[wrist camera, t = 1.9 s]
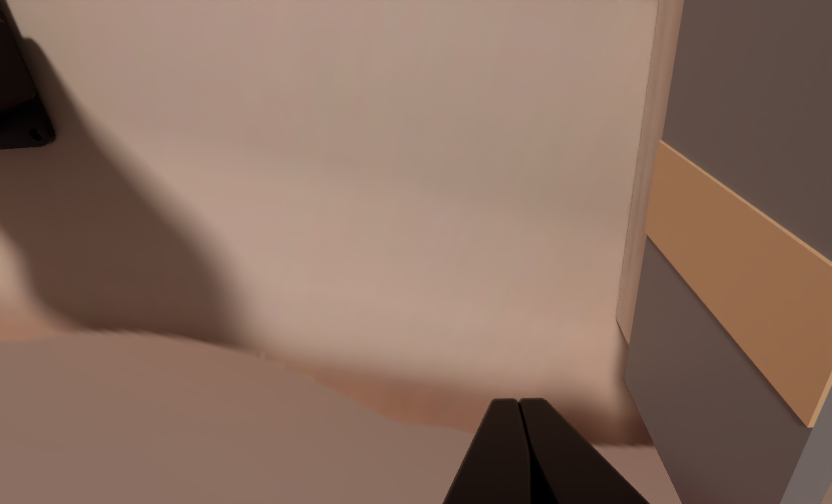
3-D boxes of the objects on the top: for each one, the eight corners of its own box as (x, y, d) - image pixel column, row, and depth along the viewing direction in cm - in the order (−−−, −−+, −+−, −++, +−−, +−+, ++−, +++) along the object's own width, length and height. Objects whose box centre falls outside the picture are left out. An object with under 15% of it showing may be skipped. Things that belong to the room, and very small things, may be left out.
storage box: (615, 318, 22) (642, 373, 19) (675, -113, 15) (735, -136, 12) (803, 312, 22) (862, 369, 19) (969, -145, 14) (1120, -181, 11)
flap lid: (644, 379, 19) (620, 379, 19) (741, -139, 11) (701, -135, 11) (766, 610, 12) (728, 611, 12) (1234, -324, 4) (1123, -309, 4)
